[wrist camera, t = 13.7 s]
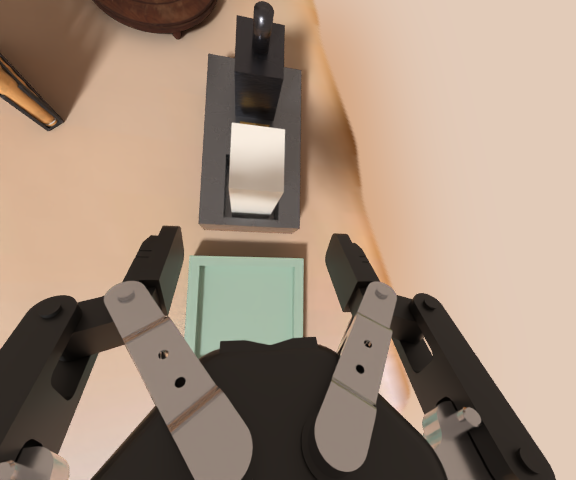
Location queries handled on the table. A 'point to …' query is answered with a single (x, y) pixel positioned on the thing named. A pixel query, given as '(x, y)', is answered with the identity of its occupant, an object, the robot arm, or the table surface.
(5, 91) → the ammunition clip
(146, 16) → the turned wooden stand
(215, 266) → the tray
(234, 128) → the plug
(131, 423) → the table surface
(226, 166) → the grey charging dock
